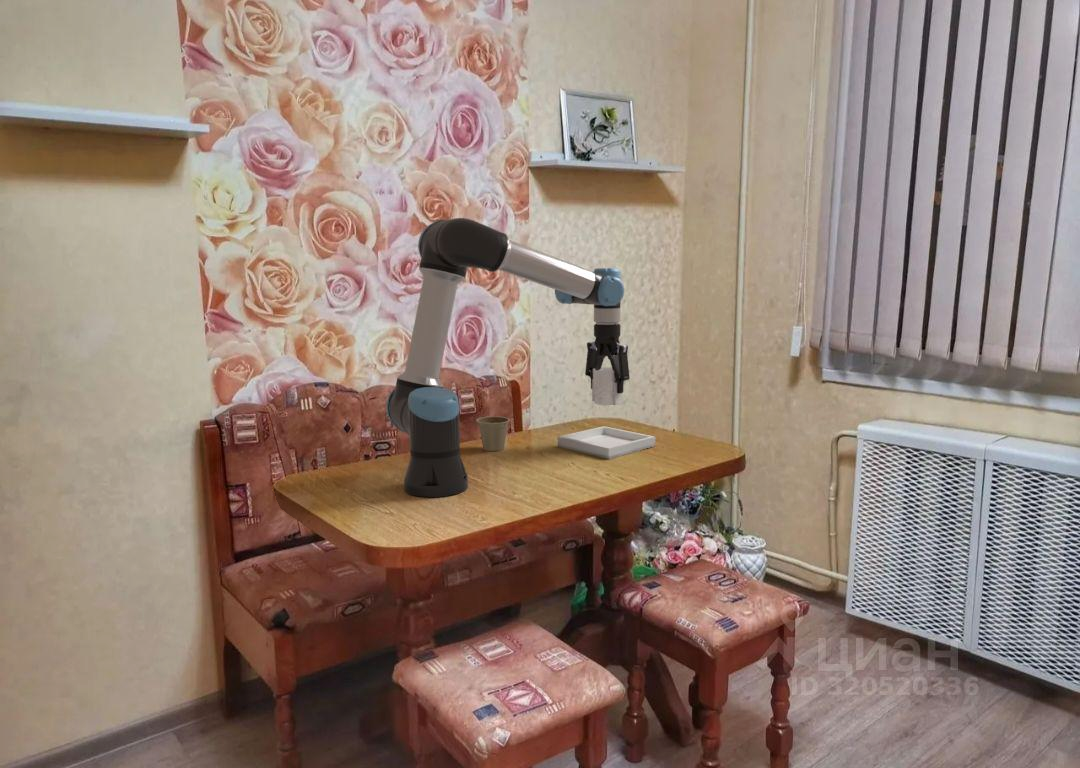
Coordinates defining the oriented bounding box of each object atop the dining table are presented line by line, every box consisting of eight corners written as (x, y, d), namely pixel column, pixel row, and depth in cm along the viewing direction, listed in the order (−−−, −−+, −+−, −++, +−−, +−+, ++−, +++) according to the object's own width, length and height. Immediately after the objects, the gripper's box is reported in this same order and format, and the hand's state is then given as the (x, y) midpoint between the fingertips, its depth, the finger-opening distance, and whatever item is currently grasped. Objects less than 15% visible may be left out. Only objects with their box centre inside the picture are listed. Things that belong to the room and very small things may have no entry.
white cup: (607, 407, 209) (607, 371, 207) (586, 403, 215) (586, 369, 213) (625, 403, 214) (626, 369, 213) (605, 399, 220) (605, 366, 218)
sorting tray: (608, 459, 202) (608, 448, 202) (557, 446, 217) (557, 436, 217) (655, 446, 216) (655, 436, 215) (604, 435, 230) (604, 426, 230)
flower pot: (509, 453, 210) (508, 423, 209) (475, 453, 210) (475, 423, 209) (511, 445, 219) (510, 416, 218) (479, 445, 220) (478, 416, 218)
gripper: (643, 324, 206) (642, 405, 210) (590, 320, 221) (590, 396, 224) (625, 325, 201) (625, 409, 205) (572, 322, 216) (572, 399, 219)
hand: (606, 402), depth 214 cm, fingers closed on white cup, 7 cm apart
